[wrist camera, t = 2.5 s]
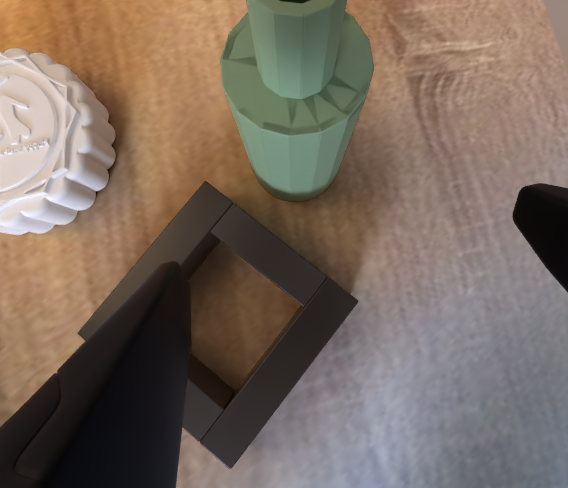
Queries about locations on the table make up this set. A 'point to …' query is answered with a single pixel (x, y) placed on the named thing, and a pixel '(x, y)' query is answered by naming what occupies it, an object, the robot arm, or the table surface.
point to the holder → (284, 350)
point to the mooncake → (48, 143)
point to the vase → (296, 90)
